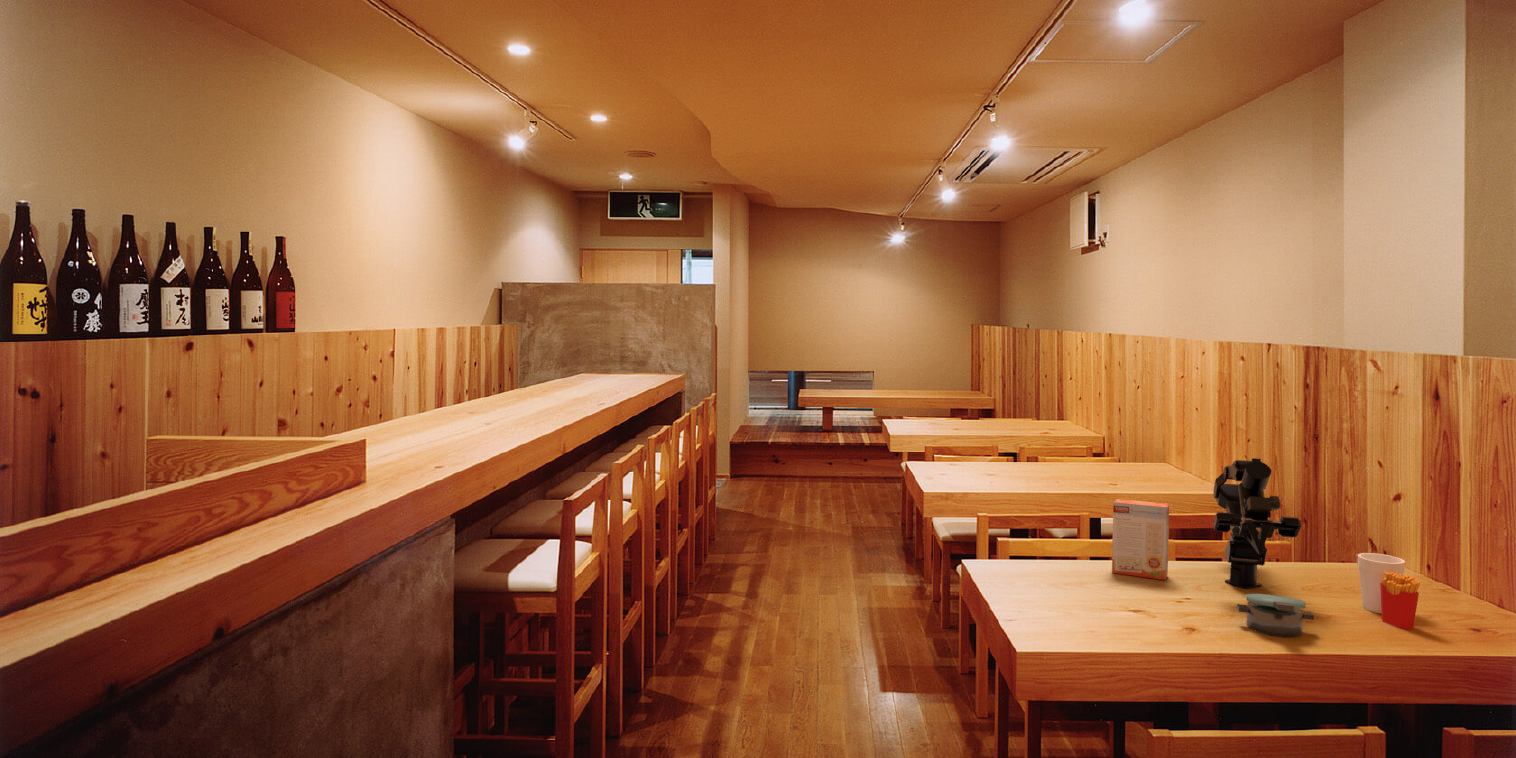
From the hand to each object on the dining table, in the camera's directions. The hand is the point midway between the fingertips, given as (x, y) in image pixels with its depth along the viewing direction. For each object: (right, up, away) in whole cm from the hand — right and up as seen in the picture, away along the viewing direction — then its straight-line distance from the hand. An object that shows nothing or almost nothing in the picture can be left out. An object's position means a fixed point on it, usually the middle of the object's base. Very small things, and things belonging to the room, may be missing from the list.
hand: (1260, 553), depth 204 cm
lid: (-6, -8, -17) cm, 20 cm away
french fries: (+25, -15, -12) cm, 32 cm away
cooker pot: (-6, -15, -14) cm, 21 cm away
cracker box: (-18, -12, +27) cm, 35 cm away
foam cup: (+29, -14, -1) cm, 32 cm away
